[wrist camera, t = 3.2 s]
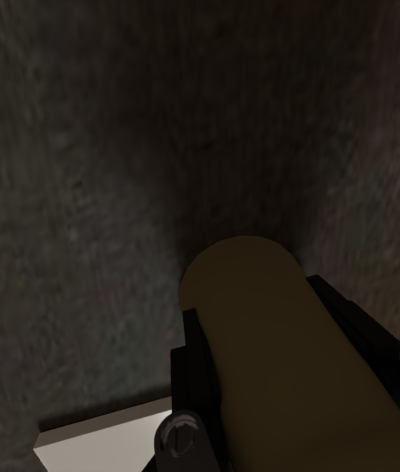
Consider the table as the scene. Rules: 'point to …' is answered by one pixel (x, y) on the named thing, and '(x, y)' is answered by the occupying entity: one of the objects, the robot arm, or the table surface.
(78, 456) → the tile
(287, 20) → the table surface
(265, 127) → the table surface
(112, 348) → the table surface
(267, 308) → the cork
